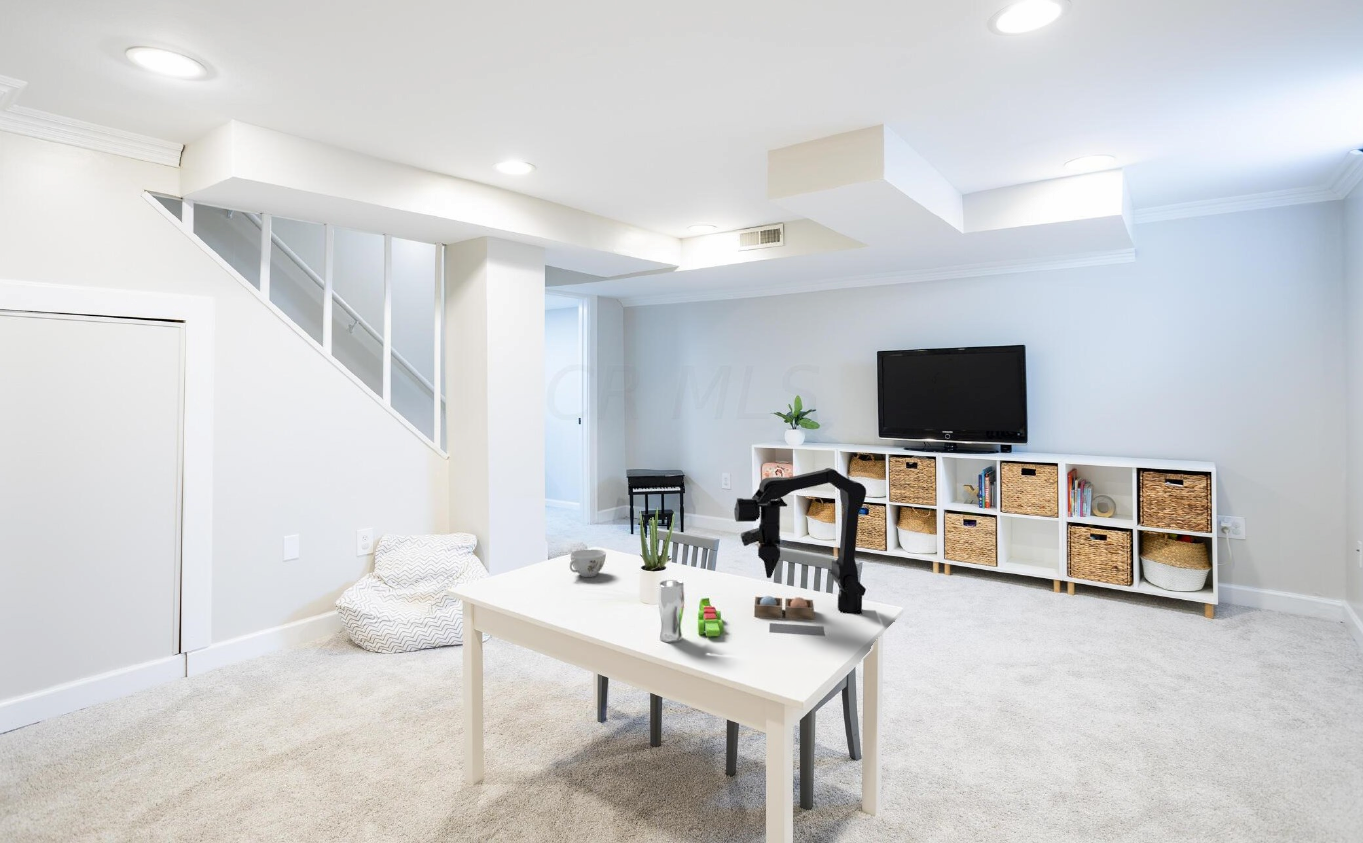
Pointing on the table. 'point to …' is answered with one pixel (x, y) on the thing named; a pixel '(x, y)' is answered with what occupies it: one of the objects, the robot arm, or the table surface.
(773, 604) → the ball slate
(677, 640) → the beer glass
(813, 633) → the mat
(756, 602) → the open wooden crate
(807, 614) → the wooden cubby box
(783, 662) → the table surface
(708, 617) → the toy crocodile
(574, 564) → the teacup
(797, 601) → the ball terracotta
